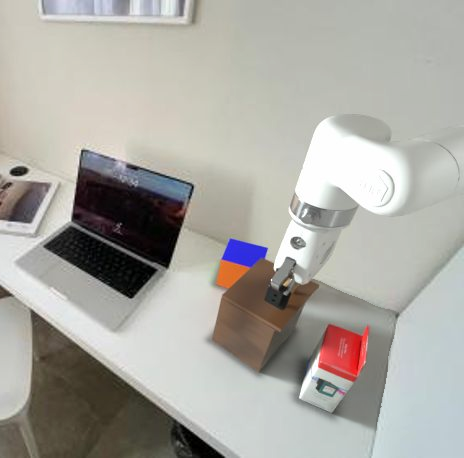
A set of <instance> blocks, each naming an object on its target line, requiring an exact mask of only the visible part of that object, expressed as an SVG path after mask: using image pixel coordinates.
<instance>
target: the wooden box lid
mask: <svg viewBox="0 0 464 458" xmlns="http://www.w3.org/2000/svg"><path fill="white" fill-rule="evenodd" d="M274 264H275V262H272V261H270V260H268V259H266V258H265V259H264V258H261V259H259V260H258V261H257V262H256V263H255V264H254V265H253V266H252V267H251V268H250V269H249V270H248V271H247V272H246V273H245V274H244V275H243V276H241V277H240V278H239V279H238V280H237V281H236V282H235V283H234V284H233V285H232V286H231V287H230V288H227V290H225V291H224V293H222V294H221V298H223V299H225V300H226V301H228V302H230V303H231V304H233V305H235V306H236V307H238V308H240V309H241V310H243V311H245V312H247V313H248V314H250V315H252V316H253V317H255V318H257V319H258V320H260V321H262V322H264V323H265V324H267V325H269V326H270V327H272V328H274V329H275V330H277V331H279V332H281V331H282V330H283V329H284V328H285V327H286V325H287V324H288V323H289V322H290V321H291V320H292V318H293V317H294V316H295V315H296V314H297V313H298V311H299V310H300V309H301V308H302V307H303V305H304V304H305V305H306V303H307V302H308V301H309V300H310V298H311V297H313V295H314V294H315V293H316V292H317V290H318V289H319V288H320V284H318V283H316V282H315V281H313V280H310V281H309V282H308V283H307V284H304V285H301V284H300V283H297V282H296V283H295V284H294V286H293V287H292V289H291V291H290V292H291V293H292V294H291V297H290V299H289V301H288V304H287V306H286V308H285V309H284V310H280V309H278V308H277V307H275V306H273V305H271V304H269V303H268V302H266V301H265V300H264V298H265V295H266V292H267V289H268V287H269V284H270V282H271V280H272V278H273V277H274V275H275V274H276V272H275V270H274ZM289 274H291V275H293V276H294V271H291V272H290V273H289ZM290 281H291V279H290V278H288V277H286V279H285V280H284V283H283V285H284V286H286V287H287V286H288V284H289V282H290Z"/></svg>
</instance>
